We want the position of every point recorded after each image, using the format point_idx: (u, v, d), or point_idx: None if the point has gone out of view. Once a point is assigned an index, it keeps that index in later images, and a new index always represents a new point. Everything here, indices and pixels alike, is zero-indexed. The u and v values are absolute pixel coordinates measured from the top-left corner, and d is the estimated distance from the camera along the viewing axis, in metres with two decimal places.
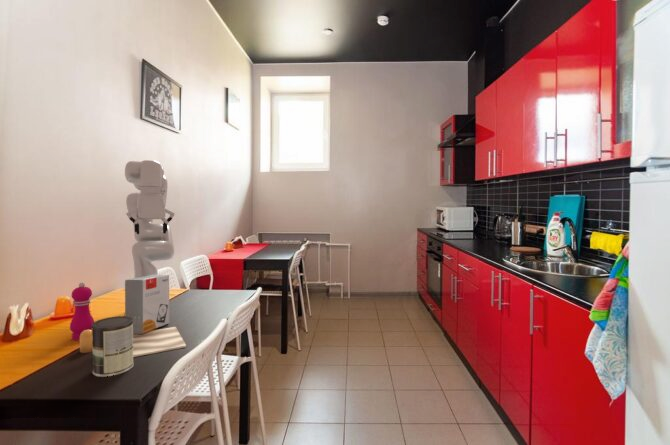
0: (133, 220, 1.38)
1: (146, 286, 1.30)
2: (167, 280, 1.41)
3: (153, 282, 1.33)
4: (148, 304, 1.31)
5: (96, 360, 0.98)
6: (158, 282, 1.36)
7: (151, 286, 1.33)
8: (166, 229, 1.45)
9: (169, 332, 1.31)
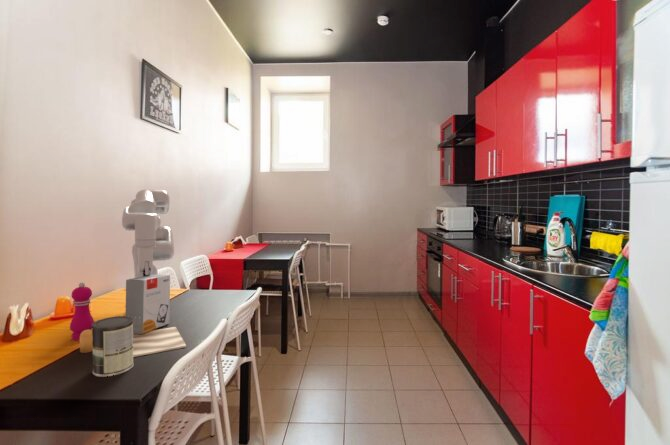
0: None
1: (147, 286, 1.30)
2: (168, 280, 1.41)
3: (154, 282, 1.33)
4: (149, 304, 1.31)
5: (96, 360, 0.98)
6: (159, 282, 1.36)
7: (152, 286, 1.33)
8: None
9: (169, 332, 1.31)
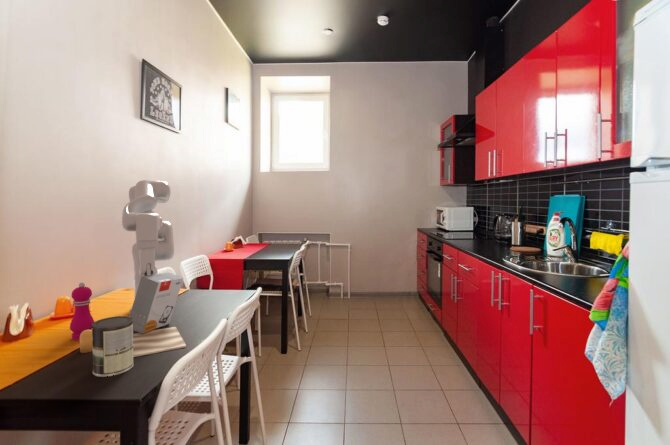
0: None
1: (160, 288, 1.29)
2: (180, 283, 1.41)
3: (167, 284, 1.33)
4: (156, 305, 1.31)
5: (96, 360, 0.98)
6: (171, 285, 1.36)
7: (164, 288, 1.32)
8: None
9: (169, 332, 1.31)
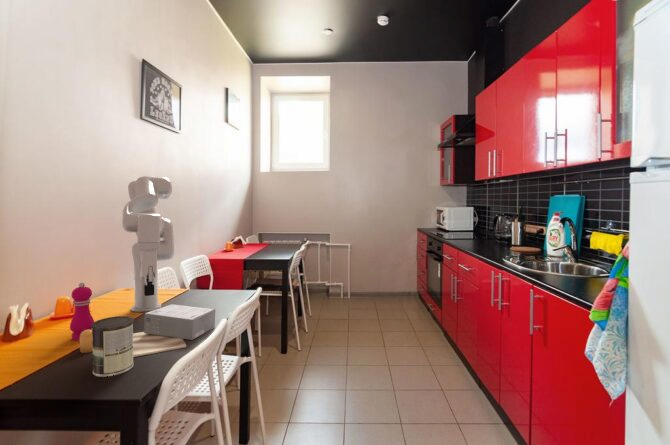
0: None
1: None
2: None
3: None
4: None
5: (96, 360, 0.98)
6: None
7: None
8: None
9: None
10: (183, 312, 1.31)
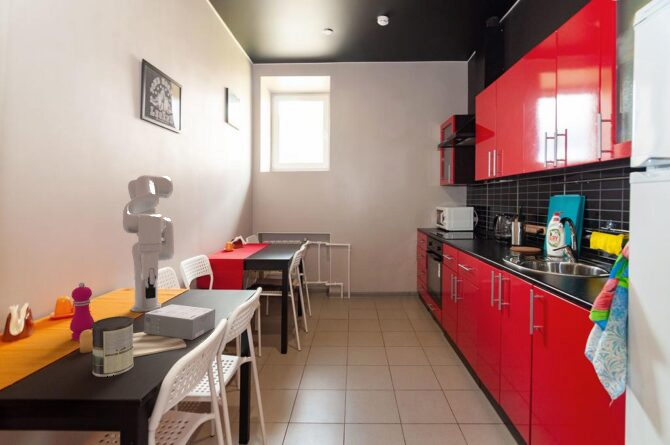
0: None
1: None
2: None
3: None
4: None
5: (96, 360, 0.98)
6: None
7: None
8: None
9: None
10: (183, 312, 1.31)
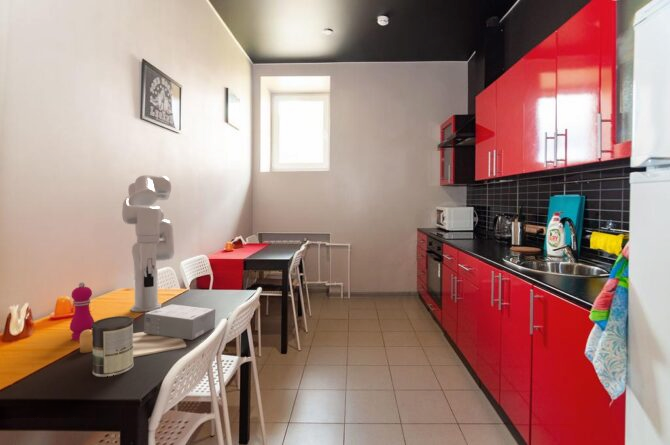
0: None
1: None
2: None
3: None
4: None
5: (96, 360, 0.98)
6: None
7: None
8: None
9: None
10: (183, 312, 1.31)
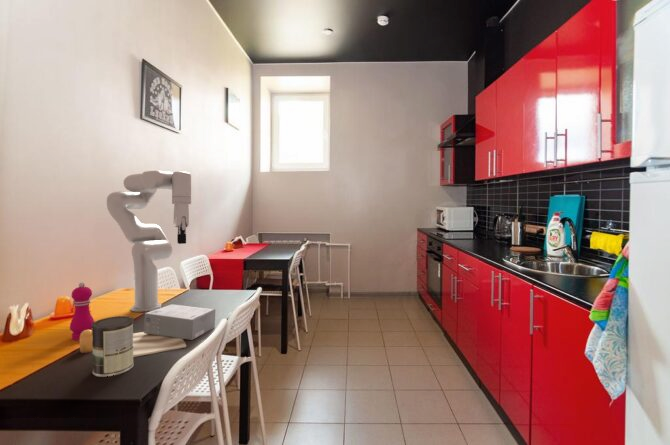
0: None
1: None
2: None
3: None
4: None
5: (96, 360, 0.98)
6: None
7: None
8: None
9: None
10: (183, 312, 1.31)
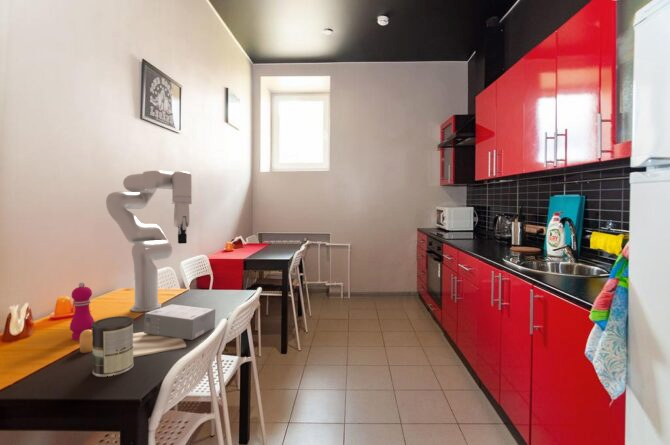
0: None
1: None
2: None
3: None
4: None
5: (96, 360, 0.98)
6: None
7: None
8: None
9: None
10: (183, 312, 1.31)
